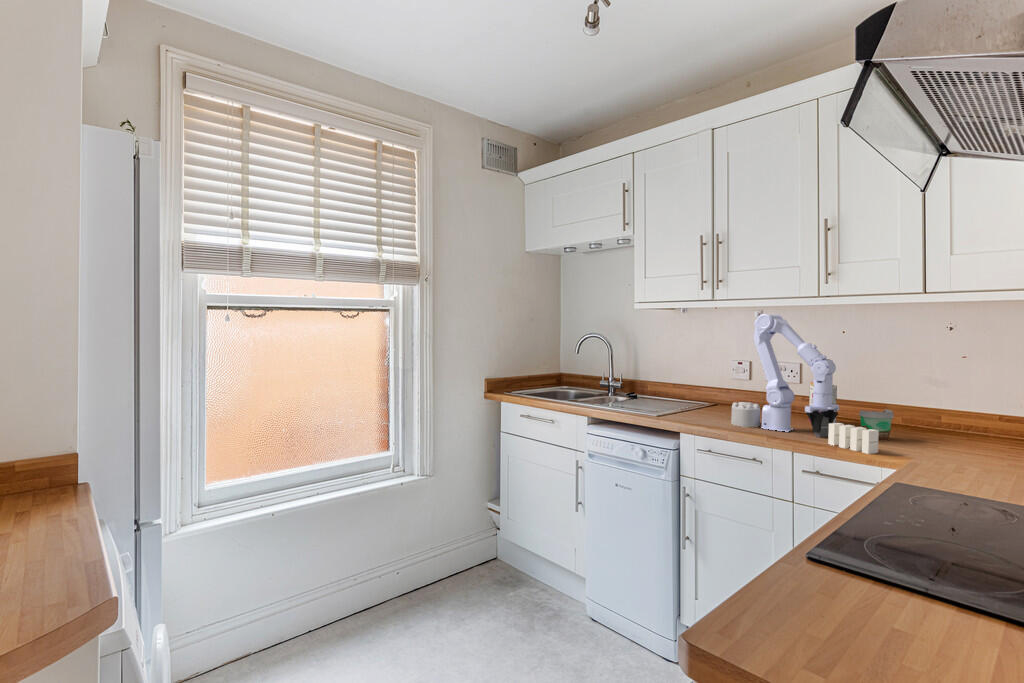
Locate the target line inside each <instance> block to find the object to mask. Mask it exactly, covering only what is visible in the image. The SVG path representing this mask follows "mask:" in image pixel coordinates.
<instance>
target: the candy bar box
mask: <svg viewBox="0 0 1024 683" xmlns="http://www.w3.org/2000/svg"><path fill="white" fill-rule="evenodd" d="M813 388H814V381H810V382H809V402H808V406H810V405H813ZM837 388H838V385H836V384H833V383H832V405H837V400H838V397H837V396H838V395H837V394H838V392H837V390H838V389H837ZM821 410H824V409H821ZM834 412H837V411H836V410H835V411H834ZM808 421H809V422H811V421H810V419H809V418H808ZM833 423H837V417H836V418H835V419H834V421H833Z"/></svg>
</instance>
